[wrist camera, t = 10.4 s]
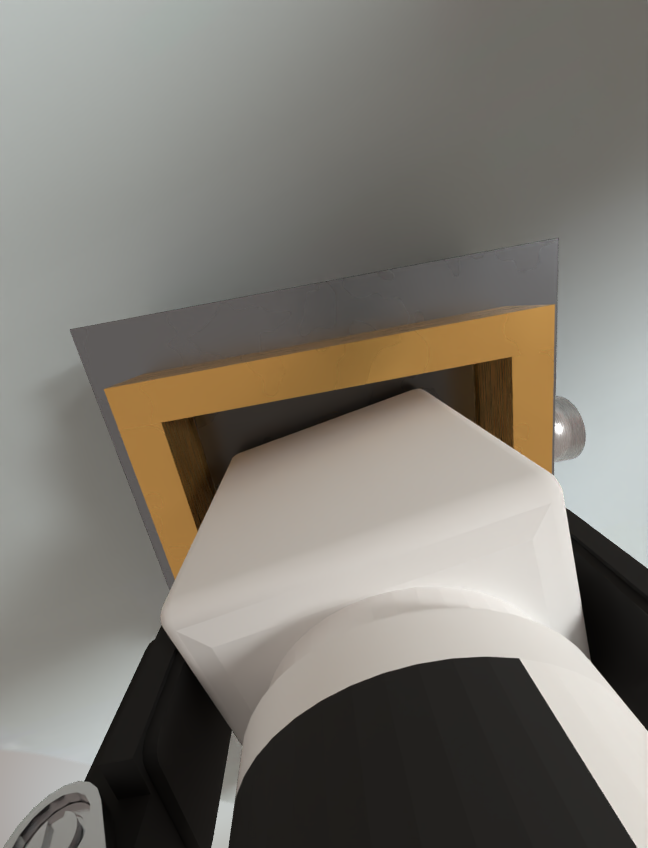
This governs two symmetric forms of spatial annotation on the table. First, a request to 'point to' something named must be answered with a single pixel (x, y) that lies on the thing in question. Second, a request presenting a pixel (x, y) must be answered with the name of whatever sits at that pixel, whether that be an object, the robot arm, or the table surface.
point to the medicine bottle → (405, 644)
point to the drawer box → (326, 372)
